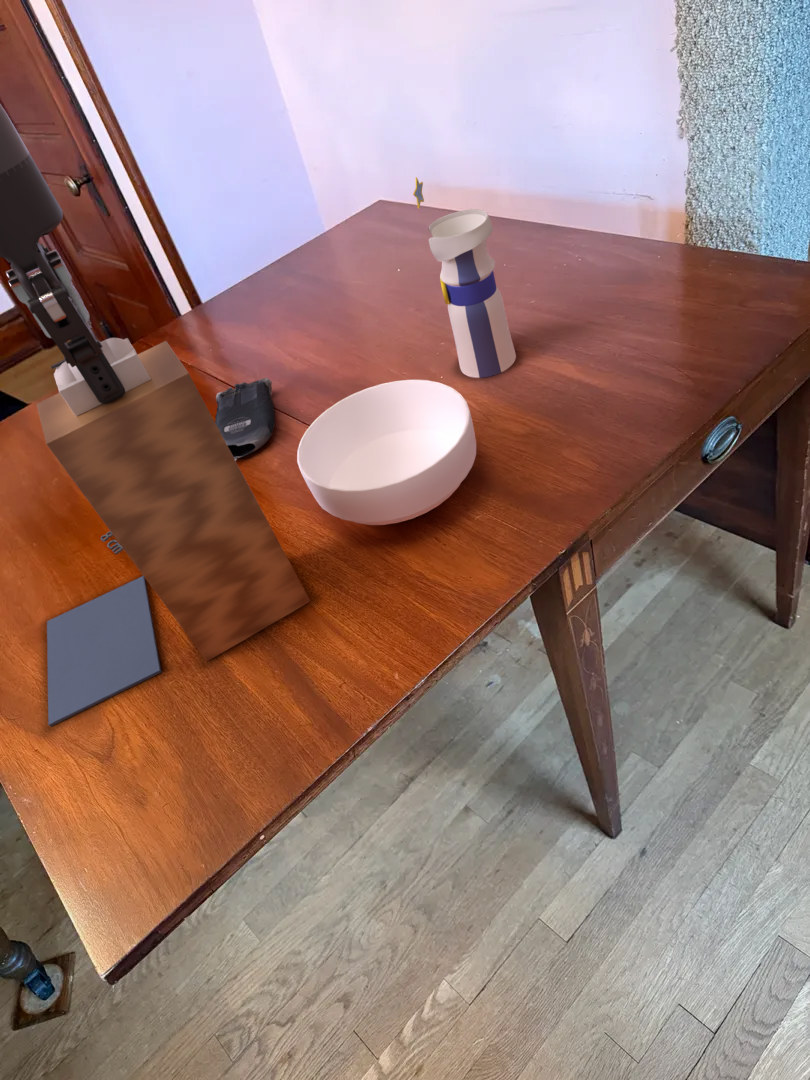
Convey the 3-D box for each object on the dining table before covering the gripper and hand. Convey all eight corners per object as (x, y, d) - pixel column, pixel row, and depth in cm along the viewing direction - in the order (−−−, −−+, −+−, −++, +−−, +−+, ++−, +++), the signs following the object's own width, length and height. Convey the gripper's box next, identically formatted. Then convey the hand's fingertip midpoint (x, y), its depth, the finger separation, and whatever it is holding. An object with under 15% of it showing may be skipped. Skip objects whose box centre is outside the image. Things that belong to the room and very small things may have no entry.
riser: (206, 661, 75) (46, 444, 57) (187, 615, 81) (35, 403, 63) (310, 601, 78) (188, 373, 59) (284, 560, 83) (165, 340, 65)
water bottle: (459, 386, 99) (411, 197, 83) (455, 354, 105) (409, 172, 89) (521, 371, 98) (484, 176, 81) (513, 339, 104) (477, 152, 87)
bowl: (516, 495, 81) (503, 433, 75) (354, 577, 78) (327, 519, 73) (441, 416, 95) (424, 359, 90) (302, 483, 93) (276, 429, 87)
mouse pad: (161, 672, 76) (159, 670, 76) (50, 726, 75) (48, 724, 74) (145, 577, 88) (143, 575, 88) (48, 623, 87) (46, 621, 86)
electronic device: (219, 421, 112) (210, 467, 100) (209, 387, 109) (197, 430, 97) (280, 409, 113) (278, 454, 100) (271, 375, 110) (268, 416, 97)
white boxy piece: (75, 417, 59) (48, 378, 56) (69, 398, 62) (43, 360, 59) (152, 379, 60) (129, 339, 58) (142, 362, 63) (119, 323, 60)
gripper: (-81, 175, 54) (55, 377, 65) (-85, 214, 43) (78, 446, 55) (18, 134, 55) (134, 339, 67) (36, 163, 45) (171, 399, 56)
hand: (108, 386), depth 61 cm, fingers closed on white boxy piece, 4 cm apart
